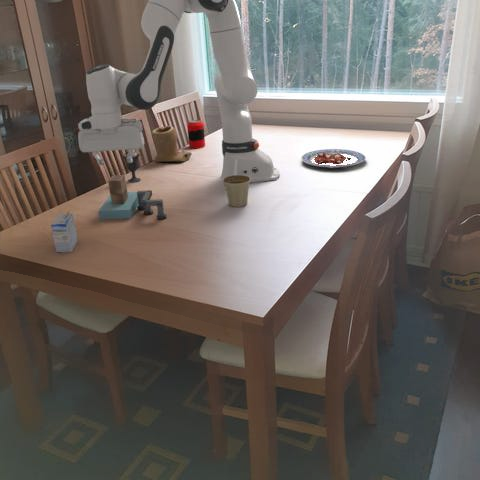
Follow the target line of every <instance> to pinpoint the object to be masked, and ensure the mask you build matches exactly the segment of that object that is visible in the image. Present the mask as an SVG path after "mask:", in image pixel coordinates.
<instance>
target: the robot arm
mask: <svg viewBox="0 0 480 480" xmlns="http://www.w3.org/2000/svg"><path fill="white" fill-rule="evenodd" d="M184 13H186V14H200V13H201V14H202V13H204V14H205V16H206V18H207V21H208V27H209V35H210V41H211V45H212V46H211V47H212V51H213V57H214V59H215V61H216V64H217V67H218V70H219V73H217V74H216V76H215V78H214V83H213V84H214V88H215V93H216V97H217V98H216V99H217V104H218V107H219V109H218V110H219V113H220V118H221V119H220V120H221V127H222V128H221V129H222V130H221V131H222V140H221V151H222V153H221V154H222V156H223V158H222V159H223V161H222V171H221V176H220V177H221V178H220V179H221V180H222V179H223V178H225V177H227V176H232V175H246V176H249V177H250V178H251V180H250V183H257V182H266V181H267V182H268V181H276V180H277V179H279V178H278V177H280V170H279V169H278V168H277V167H275V166H274V162H273V159H272V157H270V156H269V155H268V154H267V153H265V152H264V151H263V150H261V149H259V147H260V143H259V141H258V139H254V138H253V122H252V121H253V120H252V116H251V112H250V109H249V106H248V104H250V103H252V102H253V101H255V99H256V98H257V94H258V84H257V82H256V81H255V79H254V76H253V75H254V74H253V73H252V72H253V71H252V68H251V65H250V62H249V59H248V55H247V53H246V52H247V51H246V47H245V42H244V34H243V27H242V20H241V16H240V12H239V9H238V5H237V3H236V0H148V1H147V3H146V6H145V7H144V10H143V12H142V16H141V20H140V27H141V29H142V31H143V34H144V36H145V37H146V38H147V39H149V42H150V46H149V49H148V53H147V55H146V59H145V61H144V63H143V66H142V68H141V70H140V71H139V72H138V73H133V72H132V73H131V72H126V71H123V70H119V69H117V68H115V67H113V66H111V64H107V63H105V64H100V65H99V64H98V65H96V66H93V67H91V68H89V69H88V70H87V71H86V75H85V81H86V82H85V83H86V89H87V90H86V91H87V96H88V100H89V102H90V105H91V108H90V109H91V111H90V112H91V116H88V117H86V118H84V119H82V120H81V121H80V122H79V123H78V124H77V126H78V127H77V128H78V130H79V131H78V133H77V134H78V135H77V139H78V147H79V150H80V152H82V153H91V154H92V156H93V158H95V159H96V161H97V165H98V166H102V165H104V163H105V161H104V158H102V157H100V155H99V152H109V151H110V152H111V151H124V150H125V151H126V150H129V153H130V152H131V154H130V156H128V157H127V158H126V159H127V163H132V162H133V159H132V156H133V153H134V151H135V152H136V150H139V149H142V148H143V147H144V146H145V138H144V135H143V124H142V122H141V121H140V120H139V119H137V118H131V119H130V118H129V119H128V118H125V119H123V116H122V109H121V106H122V105H127V106H129V107H133V108H136V109H138V110H143V111H145V110H150V109H152V108H153V107H154V106H155V105H156V104H157V103H158V101H159V99H160V97H161V96H160V95H161V87H162V82H163V81H162V80H163V77H164V74H165V71H166V68H167V65H168V62H169V59H170V57H171V53H172V50H173V46H174V44H175V43H174V42H175V36H176V35H175V34H176V31H177V29H178V26H179V24H180V21H181V19H182V17H183V15H184Z"/></svg>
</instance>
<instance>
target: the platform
mask: <svg viewBox="0 0 480 480" xmlns="http://www.w3.org/2000/svg"><path fill="white" fill-rule="evenodd" d="M127 193H128V199H127V200H126V202H125V203H124V204H112V202H111V195H110V194H109V196H108V197H107V199H105V201H104V203H103V204H101V206H100V208H99V209H98V212H97V213H98V218H99V220H100V221H102V220H129V219H131V218H132V217H133V215H134V214H135V212H136V210H137V206H139V204H138V197H137V191H127Z"/></svg>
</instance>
